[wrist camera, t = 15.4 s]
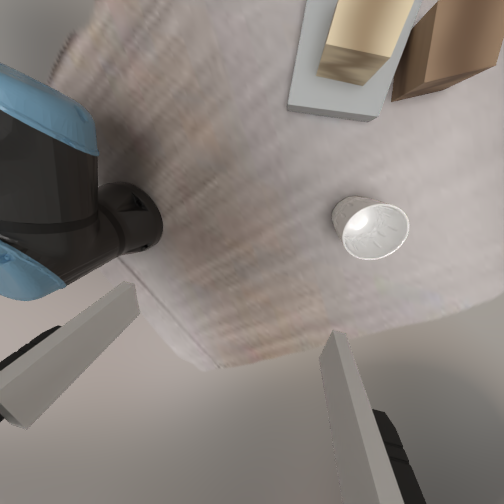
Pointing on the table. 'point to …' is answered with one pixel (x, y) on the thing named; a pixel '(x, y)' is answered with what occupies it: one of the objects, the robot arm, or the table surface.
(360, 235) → the white cup
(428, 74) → the walnut block
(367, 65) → the maple block
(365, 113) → the grey block
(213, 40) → the table surface
